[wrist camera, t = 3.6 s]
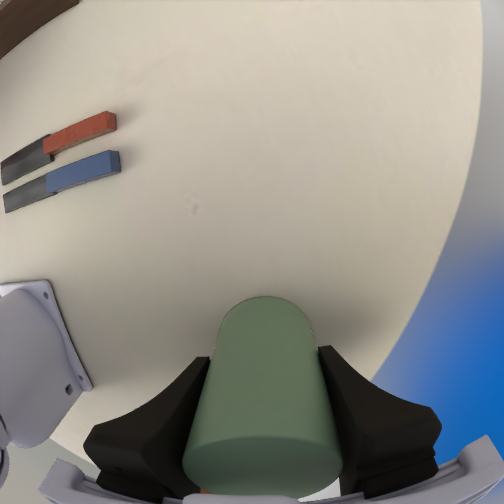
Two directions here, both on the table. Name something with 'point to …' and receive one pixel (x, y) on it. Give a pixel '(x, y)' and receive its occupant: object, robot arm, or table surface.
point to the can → (264, 408)
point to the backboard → (26, 19)
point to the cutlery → (64, 176)
